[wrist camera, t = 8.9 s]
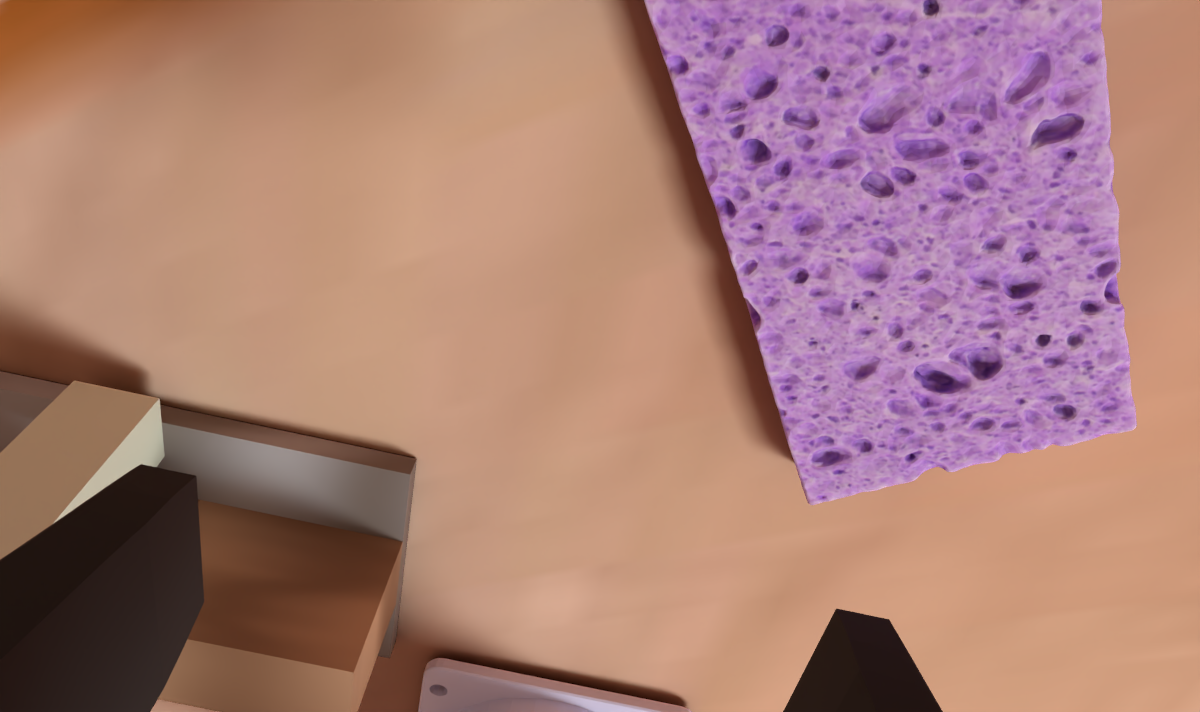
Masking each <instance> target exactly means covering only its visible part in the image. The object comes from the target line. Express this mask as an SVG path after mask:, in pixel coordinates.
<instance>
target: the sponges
mask: <svg viewBox="0 0 1200 712" xmlns="http://www.w3.org/2000/svg"><path fill="white" fill-rule="evenodd" d="M644 2H645V6H646V9H647V12H648V15H649V18H650V22H651V24H652V27H653V29H654V32H655V35H656V38H657V40H658V43H659V46H660V49H661V52H662V55H663V58H664V61H665V63H666V66H667V69H668V72H669V75H670V78H671V82H672V85H673V88H674V91H675V95H676V98H677V101H678V104H679V107H680V110H681V113H682V116H683V118H684V120H685V123H686V126H687V128H688V131H689V133H690V135H691V138H692V141H693V144H694V147H695V151H696V157H697V160H698V162H699V165H700V167H701V170H702V173H703V175H704V179H705V182H706V185H707V188H708V190H709V193H710V195H711V197H712V200H713V202H714V205H715V209H716V212H717V215H718V218H719V222H720V227H721V231H722V234H723V236H724V239H725V241H726V244H727V248H728V252H729V255H730V259H731V262H732V264H733V267H734V270H735V272H736V275H737V280H738V283H739V285H740V287H741V290H742V293H743V297H744V298H745V300H746V304H747V307H748V310H749V313H750V317H751V320H752V324H753V328H754V332H755V336H756V339H757V341H758V344H759V349H760V352H761V355H762V358H763V362H764V367H765V370H766V373H767V375H768V380H769V384H770V386H771V389H772V392H773V396H774V400H775V404H776V406H777V408H778V411H779V414H780V418H781V421H782V425H783V428H784V432H785V436H786V439H787V442H788V445H789V448H790V451H791V454H792V457H793V460H794V462H795V465H796V468H797V471H798V475H799V478H800V480H801V484H802V487H803V490H804V493H805V496H806V499H807V501H808V503H809V504H810V505H815V504H818V503H822V502H824V501H832V500H835V499H839V498H844V497H847V496H851V495H855V494H857V493H860V492H867V491H874V490H879V489H882V488H884V487H888V486H893V485H897V484H903V483H908V482H911V481H914V480H916V479H917V478H918V477H919V476H920V474H922V473H923V472H924V471H926V470H928V469H930V468H934V467H941V468H943V469H945V470H946V471H948V472H954V471H957V470H959V469H962V468H965V467H968V466H971V465H974V464H981V463H990V462H995V461H997V460H999V459H1000V458H1001V456H1002V455H1004V454H1006V453H1025V452H1028V451H1030V450H1032V449H1041V450H1043V449H1045V448H1046V447H1047V446H1049V445H1051V444H1055V445H1059V446H1068V445H1073V444H1076V443H1079V442H1082V441H1088V440H1091V439H1094V438H1096V437H1098V436H1101V435H1104V434H1109V433H1121V432H1127V431H1131V430H1133V429H1135V428H1136V426H1137V423H1136V408H1135V405H1134V402H1133V398H1132V393H1131V381H1130V374H1129V364H1130V356H1129V346H1128V341H1127V337H1126V333H1125V330H1124V307H1123V305H1122V304H1121V302H1120V299H1119V293H1118V284H1117V277H1116V273H1118V272H1119V270H1120V266H1121V262H1120V248H1119V245H1118V220H1119V208H1118V205H1117V202H1116V199H1115V196H1114V194H1113V190H1112V179H1113V174H1114V160H1113V154H1112V151H1111V149H1110V144H1109V141H1110V135H1111V123H1110V107H1109V95H1108V87H1107V78H1106V70H1107V66H1106V58H1105V52H1104V37H1103V33H1102V30H1101V20H1102V3H1101V0H644Z"/></svg>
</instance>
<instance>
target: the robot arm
mask: <svg viewBox="0 0 1200 712" xmlns="http://www.w3.org/2000/svg"><path fill="white" fill-rule="evenodd" d="M203 603H204V589H203V573H202V557H201V541H200V525H199V509H198V493H197V477H196V475H191V474H186V473H181V472H176V471H172V470H167V469H162V468H157V467H152V466H148V465H143V464H140V465H139V466H137V467H135V468H134V469H132V470H131V471H129V472H128V473H126V474H125V475H123V476H122V477H120V478H119V479H117V480H116V481H114V482H113V483H111V484H110V485H108V486H107V487H105V488H104V489H102V490H101V491H100V492H98V493H97V494H95V495H94V496H92V497H91V498H89V499H88V500H87V501H85V502H84V503H82V504H81V505H79V506H78V507H76V508H75V509H74V510H72V511H71V512H69V513H68V514H66V515H65V516H63V517H62V518H61V519H59V520H58V521H56V522H55V523H53V524H52V525H50V526H49V527H47V528H46V529H44V530H43V531H42V532H40V533H39V534H37V535H36V536H34V537H33V538H31V539H30V540H28V541H27V542H25V543H24V544H23V545H21V546H20V547H18V548H17V549H15V550H14V551H12V552H11V553H9V554H8V555H6V556H5V557H3V558H2V559H0V712H150V711H151V709H152V708H153V706H154V704H155V703H156V701H157V699H158V698H159V696H160V694H161V692H162V691H163V689H164V687H165V685H166V683H167V681H168V679H169V677H170V675H171V673H172V671H173V669H174V667H175V664H176V662H177V660H178V658H179V656H180V654H181V652H182V650H183V648H184V646H185V643H186V641H187V639H188V637H189V634H190V632H191V630H192V628H193V626H194V623H195V621H196V619H197V617H198V615H199V612H200V610H201V608H202V606H203ZM418 712H692V711H691V710H689V709H688V708H686V707H683V706H678V705H673V704H669V703H664V702H659V701H654V700H649V699H644V698H639V697H634V696H629V695H624V694H619V693H614V692H609V691H604V690H599V689H594V688H589V687H584V686H580V685H575V684H570V683H565V682H560V681H555V680H550V679H545V678H540V677H535V676H530V675H525V674H520V673H515V672H510V671H505V670H500V669H495V668H490V667H486V666H481V665H476V664H471V663H466V662H461V661H456V660H451V659H446V658H436V659H432V660H430V661H429V662H428V663H427V665H426V668H425V671H424V675H423V681H422V688H421V695H420V702H419V709H418ZM783 712H943V711H942V710H941V708H940V706H939V705H938V703H937V701H936V699H935V698H934V696H933V694H932V693H931V691H930V689H929V687H928V686H927V684H926V682H925V680H924V679H923V677H922V675H921V673H920V672H919V670H918V668H917V667H916V665H915V663H914V661H913V660H912V658H911V656H910V654H909V653H908V651H907V649H906V648H905V646H904V644H903V642H902V641H901V639H900V637H899V636H898V634H897V632H896V631H895V629H894V627H893V625H892V624H891V622H890V620H889V619H884V618H879V617H874V616H869V615H864V614H860V613H855V612H850V611H845V610H840V609H836V610H835V612H834V614H833V616H832V618H831V620H830V622H829V624H828V626H827V628H826V630H825V632H824V634H823V636H822V637H821V639H820V641H819V643H818V645H817V647H816V649H815V651H814V653H813V655H812V657H811V659H810V661H809V663H808V665H807V667H806V669H805V671H804V672H803V674H802V676H801V678H800V680H799V682H798V684H797V686H796V688H795V690H794V692H793V694H792V696H791V698H790V700H789V702H788V704H787V706H786V707H785V709H784V711H783Z"/></svg>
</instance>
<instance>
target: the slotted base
mask: <svg viewBox="0 0 1200 712" xmlns="http://www.w3.org/2000/svg"><path fill="white" fill-rule="evenodd" d="M67 387H68V385H64V384H59V383H54V382H49V381H45V380H40V379H35V378H30V377H26V376H21V375H16V374H11V373H7V372H2V371H0V453H1V452H2V451H3V450H4V449H5V448H6V447H7V446H8V445H9V444H10V443H11V442H12V441H13V440H14V439H15V438H16V437H17V436H18V435H19V434H20V433H21V432H22V431H23V430H24V429H25V428H26V427H27V426H28V425H29V424H30V423H31V422H32V421H33V420H34V419H35V418H36V417H37V416H38V415H39V414H40V413H41V412H42V411H43V410H45V409H46V408H47V407H48V406H49V405H50V404H51V403H52V402H53V401H54V400H55V399H56V398H57V397H58V396H59V395H60V394H61V393H62V392H63V391H64V390H65V389H66V388H67ZM160 409H161V420H162V432H163V443H164V454H165V457H164V458H163V459H162V460H161V462H160V463H159V464H158V466H157V468H162V469H167V470H172V471H176V472H181V473H186V474H191V475H196V477H197V493H198V509H199V525H200V541H201V557H202V573H203V589H204V603H203V606H202V608H201V610H200V612H199V615H198V617H197V619H196V621H195V623H194V626H193V628H192V630H191V632H190V634H189V637H188V639H187V641H186V643H185V646H184V648H183V650H182V652H181V654H180V656H179V658H178V660H177V662H176V664H175V667H174V669H173V671H172V673H171V675H170V677H169V679H168V681H167V683H166V685H165V687H164V689H163V691H162V692H161V694H160V696H159V698H158V699H159V700H164V701H169V702H174V703H179V704H184V705H190V706H195V707H200V708H205V709H210V710H215V711H220V712H358V709H359V707H360V704H361V701H362V698H363V695H364V692H365V690H366V687H367V684H368V681H369V678H370V676H371V673H372V670H373V667H374V664H375V662H376V659H377V656H381V657H386V658H390V656H391V653H392V650H393V648H394V645H395V642H396V634H397V625H398V617H399V608H400V599H401V591H402V582H403V573H404V565H405V556H406V547H407V538H408V530H409V521H410V512H411V504H412V495H413V486H414V478H415V469H416V460H417V459H415V458H411V457H406V456H401V455H396V454H392V453H387V452H382V451H377V450H373V449H368V448H363V447H358V446H354V445H349V444H344V443H339V442H335V441H330V440H325V439H320V438H316V437H311V436H306V435H301V434H296V433H292V432H287V431H282V430H277V429H273V428H268V427H263V426H258V425H254V424H249V423H244V422H239V421H235V420H230V419H225V418H220V417H216V416H211V415H206V414H201V413H197V412H192V411H187V410H182V409H178V408H173V407H168V406H163V405H160Z"/></svg>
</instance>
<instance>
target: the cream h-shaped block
mask: <svg viewBox="0 0 1200 712" xmlns="http://www.w3.org/2000/svg"><path fill="white" fill-rule="evenodd" d="M164 457H165V454H164V443H163V432H162V420H161V409H160V398H156V397H151V396H146V395H142V394H137V393H132V392H127V391H122V390H118V389H113V388H108V387H103V386H99V385H94V384H89V383H84V382H80V381H75V380H74V381H73V382H72V383H71V384H70V385H69V386H68V387H67V388H66V389H65V390H64V391H63V392H62V393H61V394H60V395H59V396H58V397H57V398H56V399H55V400H54V401H53V402H52V403H51V404H50V405H49V406H48V407H47V408H46V409H45V410H43V411H42V412H41V413H40V414H39V415H38V416H37V417H36V418H35V419H34V420H33V421H32V422H31V423H30V424H29V425H28V426H27V427H26V428H25V429H24V430H23V431H22V432H21V433H20V434H19V435H18V436H17V437H16V438H15V439H14V440H13V441H12V442H11V443H10V444H9V445H8V446H7V447H6V448H5V449H4V450H3V451H2V452H1V453H0V559H2V558H3V557H5V556H6V555H8V554H9V553H11V552H12V551H14V550H15V549H17V548H18V547H20V546H21V545H23V544H24V543H25V542H27V541H28V540H30V539H31V538H33V537H34V536H36V535H37V534H39V533H40V532H42V531H43V530H44V529H46V528H47V527H49V526H50V525H52V524H53V523H55V522H56V521H58V520H59V519H61V518H62V517H63V516H65V515H66V514H68V513H69V512H71V511H72V510H74V509H75V508H76V507H78V506H79V505H81V504H82V503H84V502H85V501H87V500H88V499H89V498H91V497H92V496H94V495H95V494H97V493H98V492H100V491H101V490H102V489H104V488H105V487H107V486H108V485H110V484H111V483H113V482H114V481H116V480H117V479H119V478H120V477H122V476H123V475H125V474H126V473H128V472H129V471H131V470H132V469H134V468H135V467H137V466H139V465H140V464H143V465H148V466H152V467H157V466H158V464H159V463H160V462H161V460H162V459H163V458H164Z"/></svg>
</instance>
